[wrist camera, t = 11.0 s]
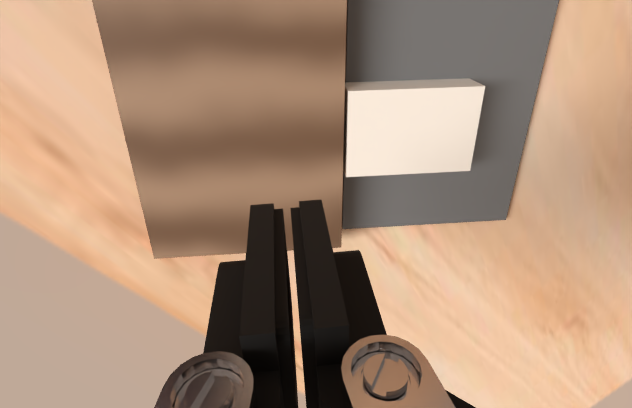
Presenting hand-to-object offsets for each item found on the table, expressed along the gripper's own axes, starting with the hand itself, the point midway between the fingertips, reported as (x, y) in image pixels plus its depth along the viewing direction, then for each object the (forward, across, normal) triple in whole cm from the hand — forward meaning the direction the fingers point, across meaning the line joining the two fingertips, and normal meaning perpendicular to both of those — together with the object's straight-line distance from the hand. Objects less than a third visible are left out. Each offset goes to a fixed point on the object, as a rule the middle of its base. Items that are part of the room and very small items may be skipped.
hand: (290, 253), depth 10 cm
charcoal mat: (+21, -12, +4) cm, 24 cm away
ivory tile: (+20, -9, +4) cm, 22 cm away
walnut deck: (+21, +3, +4) cm, 21 cm away
